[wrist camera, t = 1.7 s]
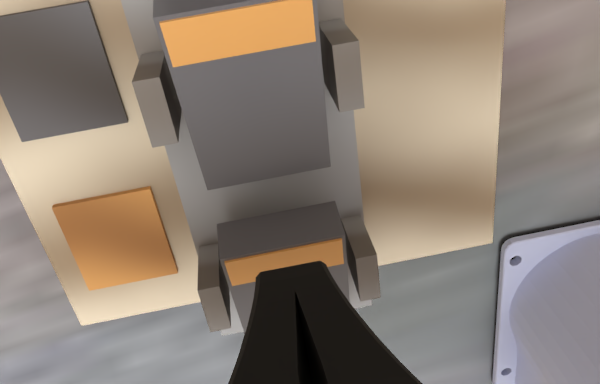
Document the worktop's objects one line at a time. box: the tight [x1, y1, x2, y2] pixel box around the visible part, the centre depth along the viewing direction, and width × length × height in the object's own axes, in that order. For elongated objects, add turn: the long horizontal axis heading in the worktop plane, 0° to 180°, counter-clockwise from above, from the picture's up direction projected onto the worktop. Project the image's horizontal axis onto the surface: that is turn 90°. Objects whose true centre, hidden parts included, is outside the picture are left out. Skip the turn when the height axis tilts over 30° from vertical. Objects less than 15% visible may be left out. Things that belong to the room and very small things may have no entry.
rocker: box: [217, 201, 350, 333], centre depth 16 cm, size 5×3×1 cm
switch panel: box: [0, 0, 506, 336], centre depth 15 cm, size 19×16×6 cm
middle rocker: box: [153, 0, 331, 190], centre depth 13 cm, size 5×3×1 cm
